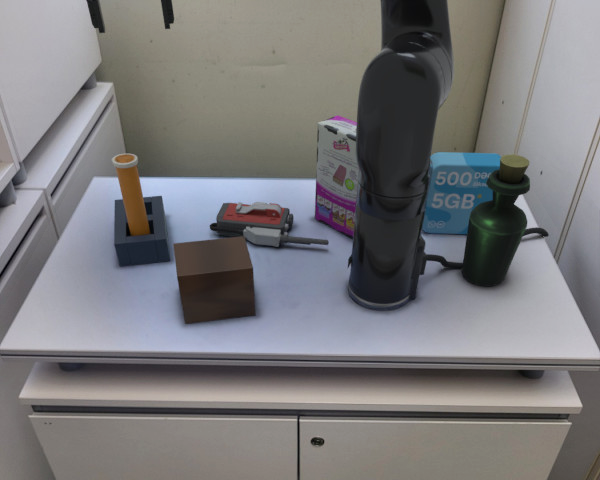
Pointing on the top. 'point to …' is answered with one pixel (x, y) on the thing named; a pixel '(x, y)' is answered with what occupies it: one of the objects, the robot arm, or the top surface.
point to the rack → (142, 246)
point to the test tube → (131, 193)
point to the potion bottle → (497, 224)
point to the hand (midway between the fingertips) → (135, 29)
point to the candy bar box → (336, 174)
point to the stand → (215, 279)
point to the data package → (457, 189)
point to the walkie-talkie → (258, 224)
